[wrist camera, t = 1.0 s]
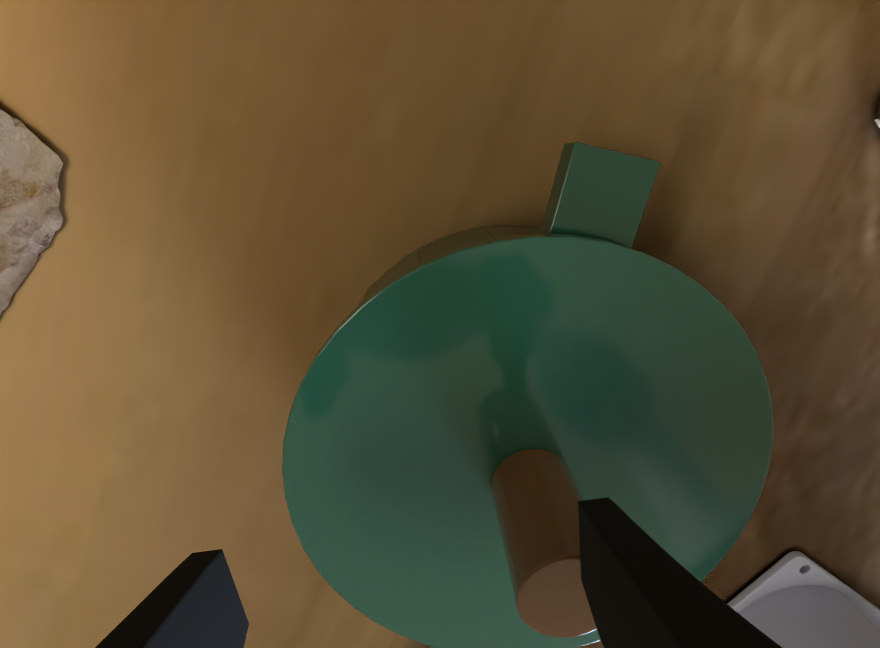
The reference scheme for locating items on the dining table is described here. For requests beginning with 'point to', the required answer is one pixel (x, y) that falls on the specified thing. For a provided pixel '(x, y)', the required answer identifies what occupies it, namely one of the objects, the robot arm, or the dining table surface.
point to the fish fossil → (25, 202)
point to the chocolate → (878, 116)
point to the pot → (568, 206)
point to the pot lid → (521, 436)
